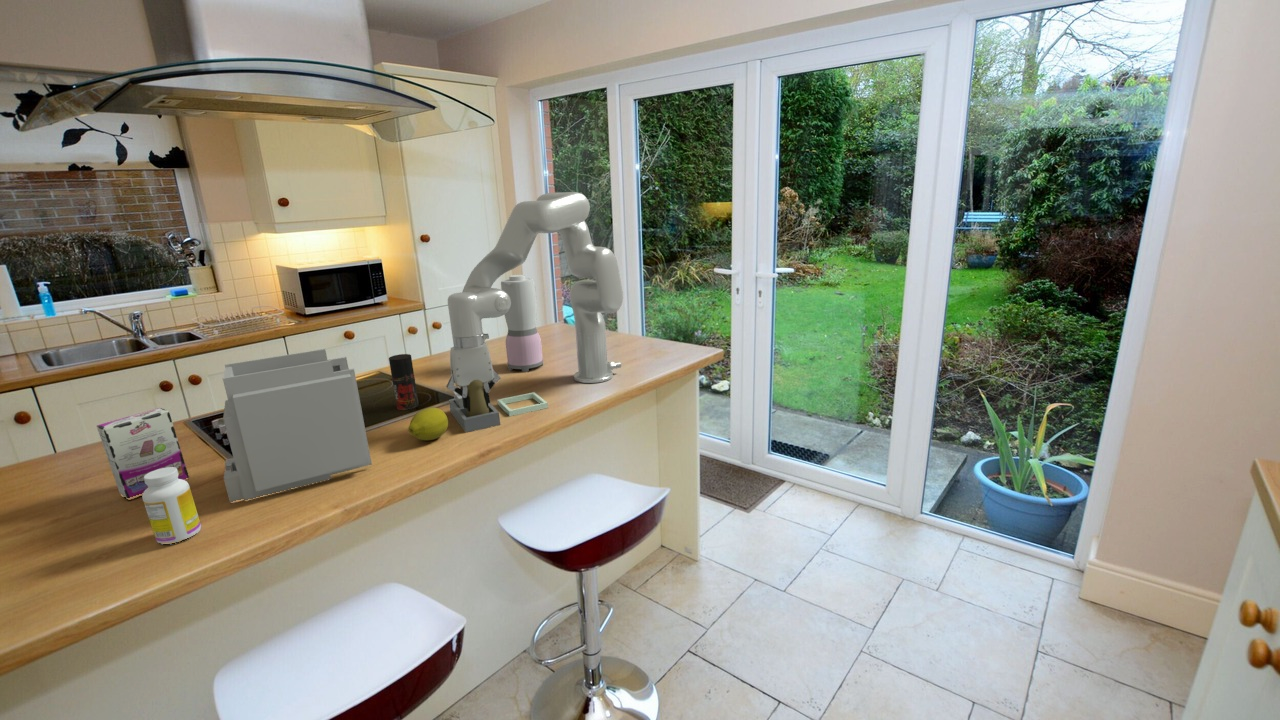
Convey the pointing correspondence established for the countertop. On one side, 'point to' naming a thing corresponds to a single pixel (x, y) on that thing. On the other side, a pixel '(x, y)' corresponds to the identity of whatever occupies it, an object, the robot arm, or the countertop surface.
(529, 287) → the blender
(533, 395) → the pale green square frame
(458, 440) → the countertop surface
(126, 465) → the candy bar box
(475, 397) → the cork
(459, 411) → the grey hollow box
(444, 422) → the lemon
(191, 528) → the supplement bottle
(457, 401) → the twin plug
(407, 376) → the deodorant
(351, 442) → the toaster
